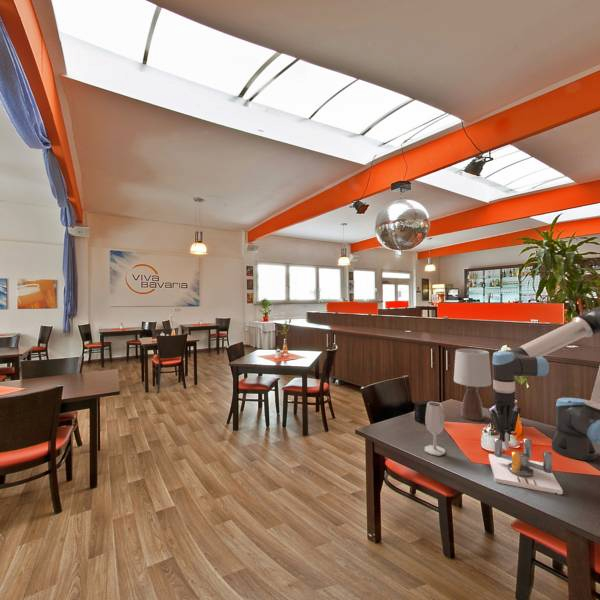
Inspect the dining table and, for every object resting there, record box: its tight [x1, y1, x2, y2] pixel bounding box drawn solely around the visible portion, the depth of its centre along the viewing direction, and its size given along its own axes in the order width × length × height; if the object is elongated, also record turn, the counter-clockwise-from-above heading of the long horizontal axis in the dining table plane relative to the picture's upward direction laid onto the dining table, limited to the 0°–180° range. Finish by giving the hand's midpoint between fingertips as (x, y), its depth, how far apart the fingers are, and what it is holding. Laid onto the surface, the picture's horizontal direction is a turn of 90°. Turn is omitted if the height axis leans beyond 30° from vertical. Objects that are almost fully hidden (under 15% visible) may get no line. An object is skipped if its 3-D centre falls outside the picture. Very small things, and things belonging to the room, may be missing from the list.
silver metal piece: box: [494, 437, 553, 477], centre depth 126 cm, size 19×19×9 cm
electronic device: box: [414, 400, 432, 424], centre depth 181 cm, size 4×10×10 cm, turn 107°
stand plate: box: [488, 453, 564, 495], centre depth 127 cm, size 20×20×2 cm
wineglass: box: [424, 401, 446, 457], centre depth 145 cm, size 9×9×21 cm
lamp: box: [453, 348, 492, 422], centre depth 185 cm, size 19×19×37 cm
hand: (505, 449), depth 133 cm, fingers closed
